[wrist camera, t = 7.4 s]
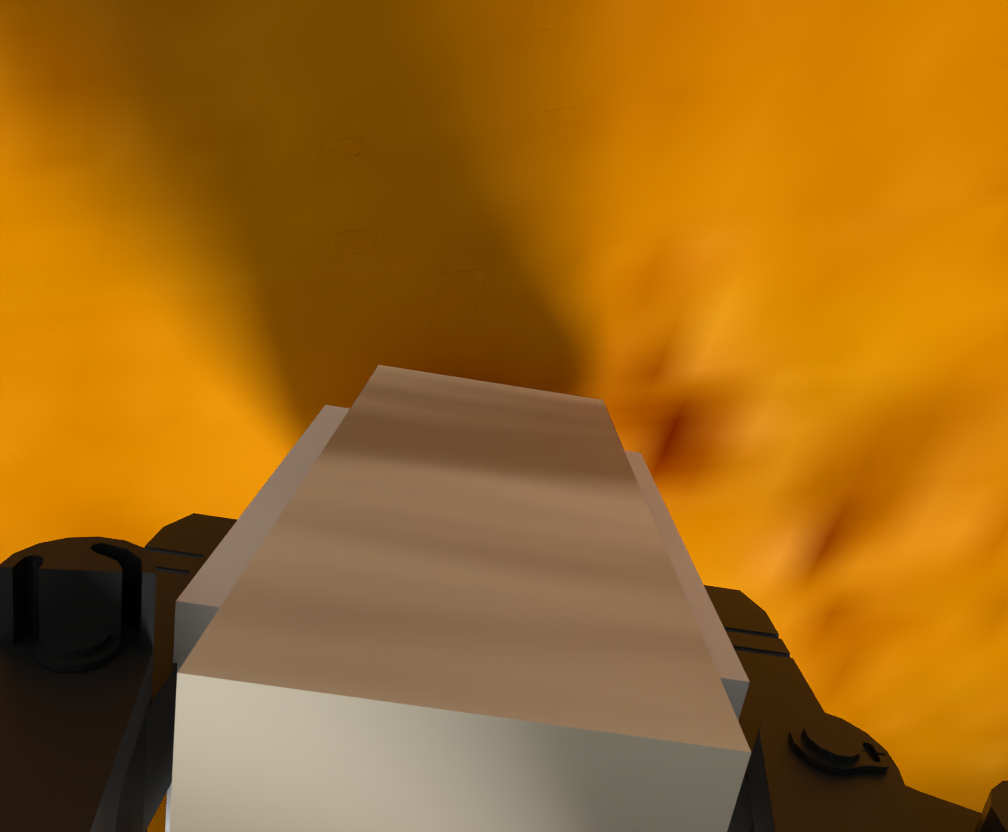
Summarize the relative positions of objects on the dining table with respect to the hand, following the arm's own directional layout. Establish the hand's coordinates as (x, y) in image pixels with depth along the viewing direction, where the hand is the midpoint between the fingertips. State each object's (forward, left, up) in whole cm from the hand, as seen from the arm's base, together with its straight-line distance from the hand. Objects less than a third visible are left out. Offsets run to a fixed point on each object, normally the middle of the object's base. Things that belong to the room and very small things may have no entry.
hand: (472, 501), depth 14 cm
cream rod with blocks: (+8, +3, -1) cm, 8 cm away
